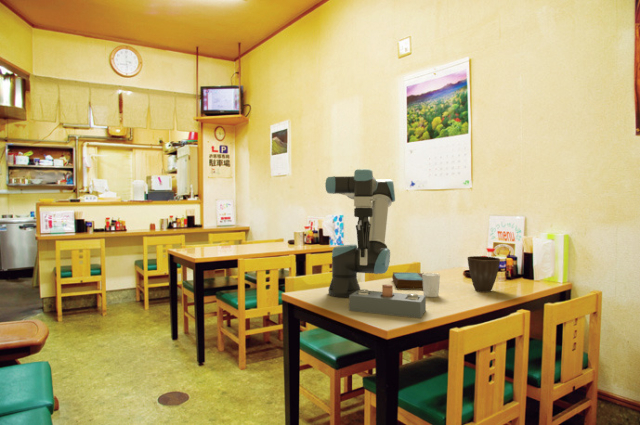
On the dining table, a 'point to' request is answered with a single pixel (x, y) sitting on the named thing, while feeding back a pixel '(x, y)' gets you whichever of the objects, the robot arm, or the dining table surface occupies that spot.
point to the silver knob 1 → (363, 292)
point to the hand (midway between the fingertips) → (363, 264)
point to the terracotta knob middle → (387, 291)
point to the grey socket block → (388, 304)
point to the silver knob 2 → (412, 296)
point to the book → (408, 280)
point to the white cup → (431, 284)
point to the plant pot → (483, 272)
